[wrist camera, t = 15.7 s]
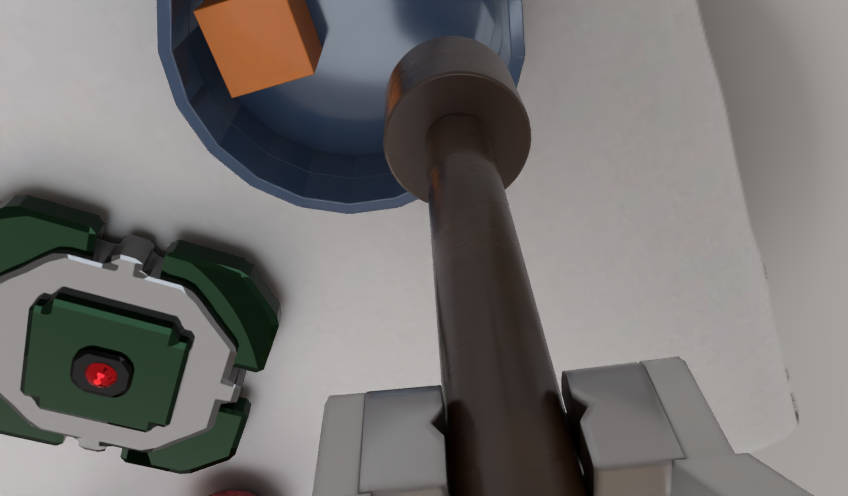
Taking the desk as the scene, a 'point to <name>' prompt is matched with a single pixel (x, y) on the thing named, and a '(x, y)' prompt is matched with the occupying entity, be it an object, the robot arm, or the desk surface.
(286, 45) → the block
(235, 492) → the fruit
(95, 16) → the desk surface
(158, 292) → the flat green button pad
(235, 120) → the bowl
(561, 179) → the desk surface
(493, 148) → the stirrer
